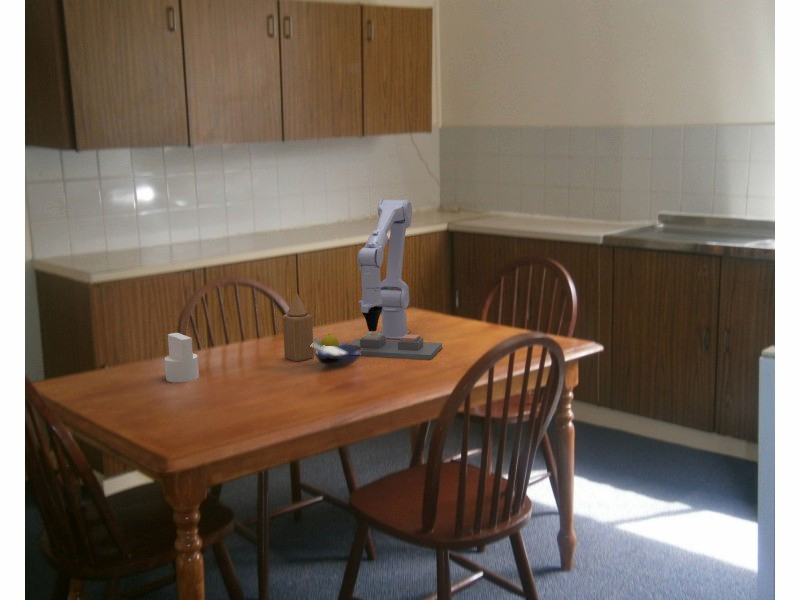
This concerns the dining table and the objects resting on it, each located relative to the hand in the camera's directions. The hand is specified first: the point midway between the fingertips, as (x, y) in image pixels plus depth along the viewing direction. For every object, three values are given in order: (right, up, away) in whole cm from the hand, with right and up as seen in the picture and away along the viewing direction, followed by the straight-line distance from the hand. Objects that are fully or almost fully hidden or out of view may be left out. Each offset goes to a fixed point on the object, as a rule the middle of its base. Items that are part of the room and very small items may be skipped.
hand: (372, 330), depth 277 cm
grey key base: (+6, -6, 0) cm, 9 cm away
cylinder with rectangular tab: (-52, -13, -23) cm, 59 cm away
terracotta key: (+12, -3, -3) cm, 12 cm away
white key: (0, -3, +1) cm, 3 cm away
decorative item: (-22, -8, -5) cm, 24 cm away
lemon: (-12, -9, -8) cm, 17 cm away
